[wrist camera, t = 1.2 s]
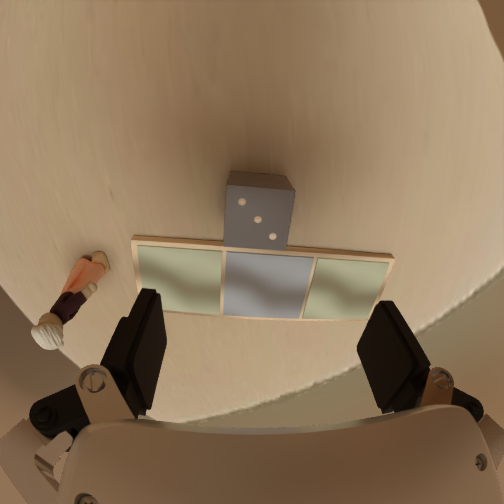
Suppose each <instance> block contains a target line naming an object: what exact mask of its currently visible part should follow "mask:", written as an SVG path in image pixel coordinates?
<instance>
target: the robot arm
mask: <svg viewBox="0 0 504 504" xmlns="http://www.w3.org/2000/svg"><path fill="white" fill-rule="evenodd" d="M166 345H167V337H166V330H165V324H164V317H163V309H162V301H161V294H160V293H157V292H156V289H149V288H142V289H141V291H140V293H139V295H138V297H137V299H136V301H135V303H134V305H133V307H132V309H131V312H130V314H129V316H128V317H122V318H121V319H120V321H119V323H118V325H117V327H116V329H115V332H114V334H113V336H112V338H111V340H110V343H109V345H108V347H107V349H106V352H105V354H104V356H103V358H102V361H101V363H100V365H97V364H92V365H87V366H85V367H83V368H82V369H81V370H80V371H79V372H78V373H77V375H76V378H75V384H74V385H72V386H70V387H68V388H66V389H64V390H61V391H59V392H57V393H55V394H52V395H50V396H48V397H45V398H43V399H40V400H38V401H37V402H36V403H34V404H33V406H32V407H31V409H30V414H29V418H28V419H27V420H25V419H22V420H21V421H20V422H19V423H18V424H17V425H15V426H14V427H13V428H12V429H11V430H10V431H9V432H7V433H6V434H5V435H4V436H3V437H2V438H1V439H0V465H1V466H2V468H3V470H4V471H5V473H6V474H7V475H8V477H9V479H10V480H11V482H12V483H13V485H14V486H15V487H16V489H17V490H18V491H19V493H20V494H21V495H22V497H23V498H24V499H25V501H26V502H27V503H28V504H504V501H503V496H502V491H501V487H500V483H499V479H498V475H497V472H496V470H497V468H498V466H499V464H500V462H501V460H502V457H503V455H504V429H503V428H501V427H500V426H499V425H498V424H497V423H496V422H495V421H494V420H493V419H492V418H491V417H490V416H489V415H487V414H485V415H483V414H484V410H483V406H482V404H481V403H480V402H479V400H477V399H476V398H474V397H472V396H470V395H468V394H466V393H464V392H462V391H460V390H459V389H457V388H455V387H454V380H453V377H452V376H451V374H450V373H449V372H448V371H447V370H445V369H444V368H441V367H435V368H432V369H431V370H430V368H429V366H430V365H431V364H430V362H429V360H428V358H427V356H426V355H425V353H424V351H423V349H422V348H421V346H420V344H419V343H418V341H417V339H416V337H415V336H414V334H413V332H412V331H411V329H410V328H409V326H408V324H407V323H406V321H405V319H404V318H403V316H402V315H401V313H400V312H399V310H398V308H397V307H396V305H395V304H394V302H393V301H380V302H379V303H378V304H376V305H375V307H374V310H373V312H372V314H371V316H370V319H369V321H368V323H367V325H366V328H365V330H364V332H363V334H362V336H361V338H360V340H359V342H358V345H357V352H358V355H359V358H360V360H361V363H362V365H363V368H364V370H365V373H366V376H367V379H368V381H369V384H370V387H371V389H372V392H373V395H374V398H375V401H376V403H377V406H378V408H381V411H382V414H385V413H389V412H392V411H393V410H394V413H392V414H387V415H382V416H377V417H372V418H366V419H360V420H355V421H347V422H340V423H332V424H324V425H312V426H299V427H278V428H236V427H216V426H202V425H191V424H181V423H172V422H164V421H155V420H146V419H138V415H144V416H145V415H146V410H147V409H148V410H150V409H151V407H152V403H153V398H154V394H155V389H156V385H157V381H158V377H159V373H160V369H161V365H162V361H163V357H164V353H165V349H166ZM64 452H69V453H68V456H67V459H66V462H65V465H64V469H63V472H62V476H61V480H60V484H59V483H58V481H57V480H56V478H55V477H54V473H53V468H54V465H55V464H56V462H57V461H59V460H60V457H59V456H60V455H61V454H63V453H64ZM92 496H93V497H92Z"/></svg>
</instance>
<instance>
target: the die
mask: <svg viewBox="0 0 504 504" xmlns="http://www.w3.org/2000/svg"><path fill="white" fill-rule="evenodd" d="M294 197H295V190H294V188H293V187H292V185H291V184H290V182H289V180H288V179H287V177H286V176H280V175H270V174H260V173H248V172H235V171H230V173H229V178H228V182H227V189H226V204H225V220H224V237H223V247H235V248H249V249H263V250H277V251H286V246H287V240H288V234H289V228H290V222H291V216H292V210H293V203H294Z"/></svg>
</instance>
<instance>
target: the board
mask: <svg viewBox="0 0 504 504" xmlns="http://www.w3.org/2000/svg"><path fill="white" fill-rule="evenodd" d="M131 248H132V256H133V263H134V270H135V277H136V283H137V289H138V295H139V293H140V291H141V289H142V288H149V289H156V292H157V293H160V294H161V301H162V309H163V312H169V313H178V314H189V315H200V316H213V317H227V318H243V319H263V320H294V321H360V320H369V319H370V316H371V314H372V312H373V310H374V307H375V305H376V304H378V302H379V299H380V297H381V295H382V292H383V290H384V287H385V285H386V282H387V280H388V277H389V274H390V272H391V269H392V266H393V264H394V261H395V258H394V257H393V256H392V255H391V254H380V253H368V252H356V251H343V250H331V249H318V248H305V247H292V246H286V251H277V250H263V249H249V248H235V247H223V241H209V240H194V239H180V238H164V237H149V236H133V237H132V239H131Z"/></svg>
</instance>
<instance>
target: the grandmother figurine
mask: <svg viewBox="0 0 504 504" xmlns="http://www.w3.org/2000/svg"><path fill="white" fill-rule="evenodd" d="M109 270H110V266H109V263H108V260H107V258H106V256H105V254H104V253H102V252H100V251H97V252H94V253H93V255H92V261H91V262H90V261H89V260H87V259H84V258H83V259H79V260H78V262H77V263H76V265H75V266H74V268H73V269H72V271H71V273H70V275H69V277H68V279H67V282H66V284H65V286H64V288H63V290H62V293H61V296H60V297H59V298H58V300H57V301H56V303H55V304H54V305H53V306H52V308H51V310H50V312H49V313H45V314H44V315H42V316H41V318H40V319H39V322H38V325H35V326H34V327H33V328H32V331H31V333H32V336H33V338H34V339H35V341H36V342H37V343H38V344H39V345H40V346H41V347H42V348H44V349H48V350H54V349H56V348H59V347H62V346H63V345H64V342H63V341H62V339H63V325H64V324H65V323H67V322H68V321H69V320H71V319H72V318H73V317H74V316H75V315H76V313H77V312H78V310H79V308H80V306H81V305H83V304H84V303H85V302H86V301H87V299H88V298H89V297H90V296H91V295H92V293H94V292H96V290H97V285H96V283H97V282H98V281H99V280H100V279H101V277H102V276H103V275H104V273H107V272H108V271H109Z"/></svg>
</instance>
